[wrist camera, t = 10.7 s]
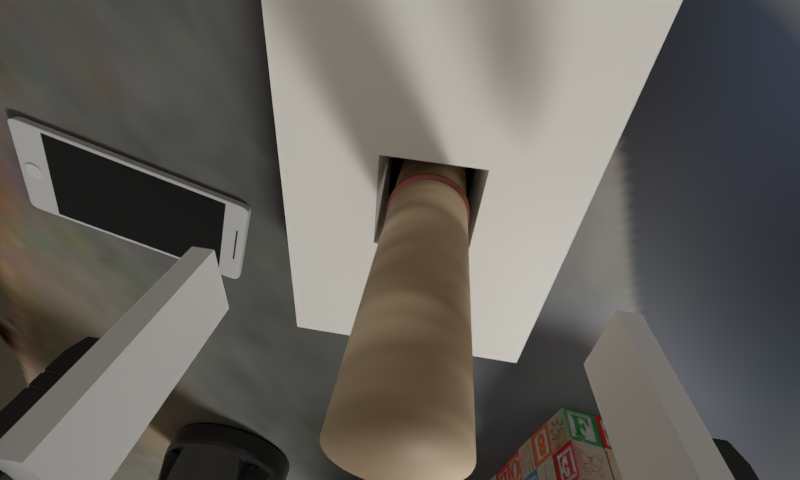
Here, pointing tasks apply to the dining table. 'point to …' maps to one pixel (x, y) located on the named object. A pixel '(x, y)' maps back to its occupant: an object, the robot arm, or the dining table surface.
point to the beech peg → (411, 342)
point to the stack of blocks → (564, 451)
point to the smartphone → (128, 197)
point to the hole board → (451, 135)
